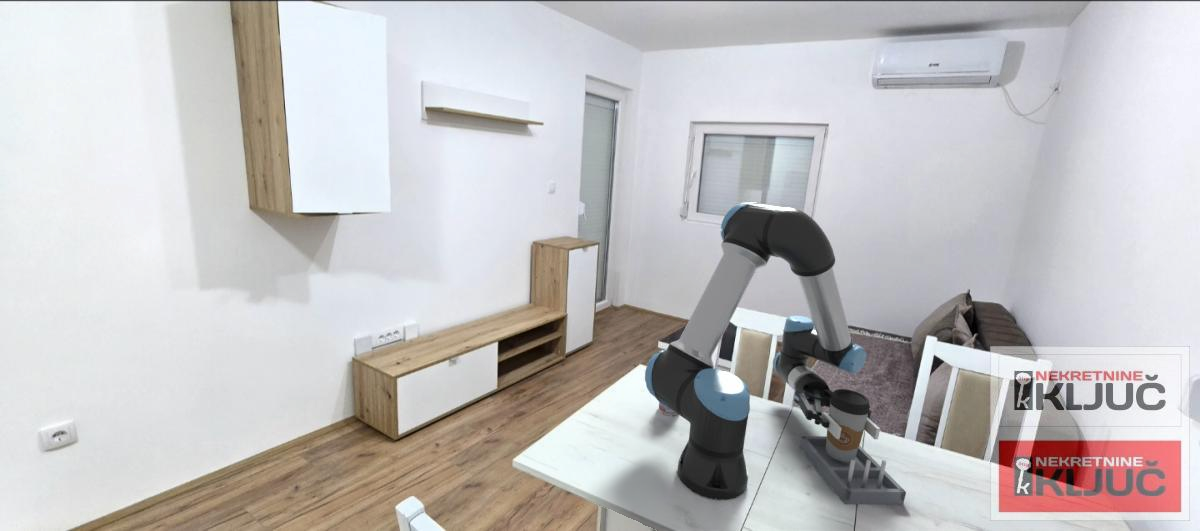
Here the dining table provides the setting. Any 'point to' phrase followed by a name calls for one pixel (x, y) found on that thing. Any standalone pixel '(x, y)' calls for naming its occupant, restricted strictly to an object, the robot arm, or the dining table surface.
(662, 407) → the pill bottle
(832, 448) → the coffee cup
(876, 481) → the dish rack
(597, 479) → the dining table surface
